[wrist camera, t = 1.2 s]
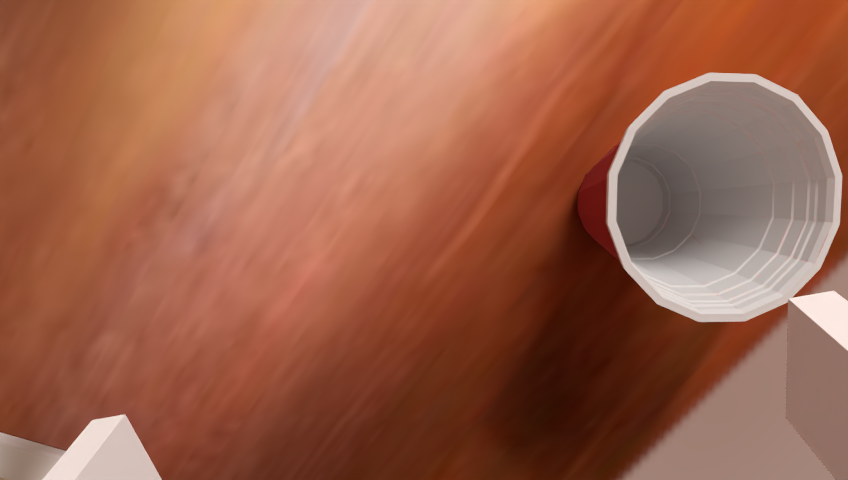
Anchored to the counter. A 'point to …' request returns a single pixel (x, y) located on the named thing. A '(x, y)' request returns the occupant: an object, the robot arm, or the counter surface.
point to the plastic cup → (718, 197)
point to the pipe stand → (25, 458)
